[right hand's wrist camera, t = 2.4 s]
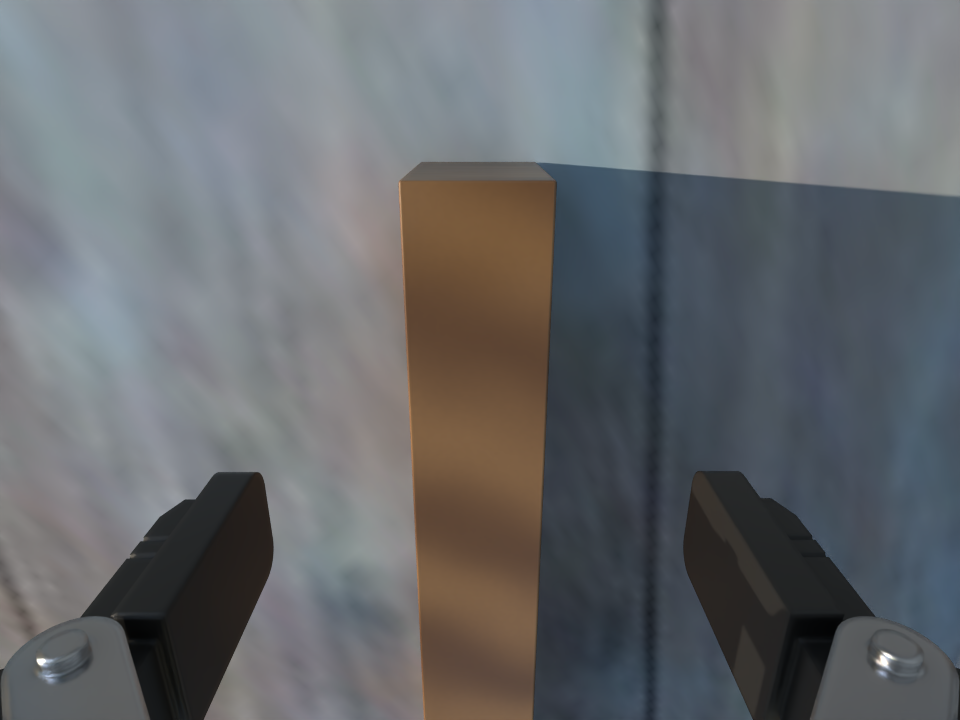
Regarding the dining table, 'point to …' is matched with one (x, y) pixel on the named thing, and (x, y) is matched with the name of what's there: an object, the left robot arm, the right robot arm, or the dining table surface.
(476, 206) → the bar
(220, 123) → the dining table surface
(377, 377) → the dining table surface
